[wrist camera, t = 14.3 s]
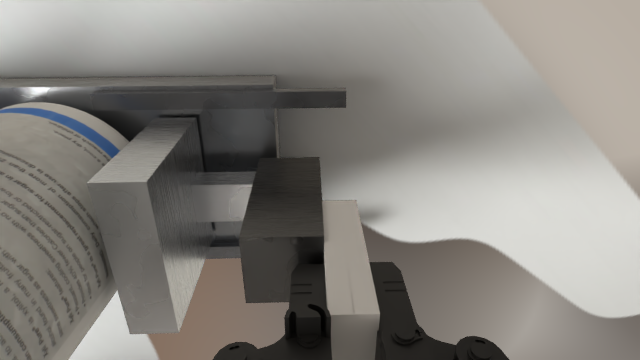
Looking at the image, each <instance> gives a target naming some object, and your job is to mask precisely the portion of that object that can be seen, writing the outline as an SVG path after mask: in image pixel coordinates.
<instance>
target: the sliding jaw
mask: <svg viewBox="0 0 640 360" xmlns="http://www.w3.org/2000/svg"><path fill="white" fill-rule="evenodd" d="M87 186H88V190H89V193H90V197H91V200H92V204H93V207H94V211H95V214H96V217H97V221H98V224H99V228H100V231H101V235H102V238H103V242H104V245H105V249H106V252H107V256H108V259H109V262H110V266H111V269H112V273H113V276H114V280H115V283H116V287H117V290H118V294H119V297H120V301H121V304H122V307H123V311H124V314H125V318H126V321H127V325H128V328H129V332H130V334H151V333H152V334H153V333H179V331H180V329H181V326H182V323H183V320H184V317H185V315H186V312H187V309H188V306H189V303H190V301H191V298H192V295H193V292H194V289H195V287H196V284H197V281H198V278H199V275H200V273H201V270H202V267H203V265H204V262H205V259H206V256H207V253H208V251H209V248H210V245H211V242H212V239H213V230H212V223H211V222H218V221H243V223H242V227H241V231H240V235H239V245H240V254H241V263H242V272H243V281H244V289H245V298H246V303H268V302H289V301H290V286H291V273H292V272H293V270H294V269H295V267H296V266H297V264H324V225H323V209H322V193H321V177H320V161H319V157H304V158H259V162H258V166H257V170H256V171H255V172H204V167H203V160H202V153H201V146H200V139H199V133H198V126H197V119H196V118H155V119H154V120H153V121H152V122H150V123H149V124H148V125H147V126H146V127H145V128H144V129H143V130H142V131H141V132H140V133H139V134H138V135H137V136H136V137H135V138H134V139H132V140H131V141H130V142H129V143H128V144H127V145H126V146H125V147H124V148H123V149H122V150H121V151H120V152H119V153H118V154H117V155H116V156H114V157H113V158H112V159H111V160H110V161H109V162H108V163H107V164H106V165H105V166H104V167H103V168H102V169H101V170H100V171H99V172H98V173H96V174H95V175H94V176H93V177H92V178H91V179H90V180H89V181H88V182H87Z"/></svg>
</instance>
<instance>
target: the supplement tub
mask: <svg viewBox="0 0 640 360" xmlns="http://www.w3.org/2000/svg"><path fill="white" fill-rule="evenodd" d="M128 143H129V141H128V140H127V139H126V138H125V137H123V136H122V135H121V134H120V133H119V132H118V131H117V130H115V129H114V128H112V127H111V126H109V125H108V124H106V123H105V122H104V121H102V120H100V119H98V118H96V117H94V116H92V115H90V114H88V113H86V112H84V111H81V110H78V109H75V108H72V107H69V106H65V105H61V104H55V103H45V102H29V103H21V104H16V105H12V106H8V107H5V108H3V109H0V360H68V359H69V358H70V356H71V355H72V353H73V352H74V351H75V349H76V348H77V346H78V345H79V344H80V342H81V341H82V339H83V338H84V336H85V335H86V334H87V332H88V331H89V329H90V328H91V327H92V325H93V324H94V322H95V321H96V320H97V318H98V317H99V315H100V314H101V312H102V311H103V310H104V308H105V307H106V305H107V304H108V303H109V301H110V300H111V298H112V297H113V295H114V294H115V293H116V291H117V287H116V283H115V280H114V276H113V273H112V269H111V266H110V262H109V259H108V256H107V252H106V249H105V245H104V242H103V238H102V235H101V231H100V228H99V224H98V221H97V217H96V214H95V211H94V207H93V204H92V200H91V197H90V193H89V190H88V186H87V182H88V181H89V180H90V179H91V178H92V177H93V176H94V175H95V174H96V173H98V172H99V171H100V170H101V169H102V168H103V167H104V166H105V165H106V164H107V163H108V162H109V161H110V160H111V159H112V158H113V157H114V156H116V155H117V154H118V153H119V152H120V151H121V150H122V149H123V148H124V147H125V146H126V145H127V144H128Z"/></svg>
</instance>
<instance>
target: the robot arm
mask: <svg viewBox="0 0 640 360" xmlns="http://www.w3.org/2000/svg"><path fill="white" fill-rule="evenodd" d="M322 209H323V225H324V264H297V266H296V267H295V269H294V270H293V272H292V273H291V286H290V301H289V309H288V310H287V312H286V315H285V335H284V336H283V337H282V338H281V339H280V340H279V341H277V342H276V343H275V344H272V345H270V346H267V347H264V348H260V349H257V348H256V347H255V346H254V345H252V344H249V343H247V342H235V343H232V344H229V345H227V346H225V347H224V348H222V349H221V350H219V352H218V353H217V354H216V355H215V357H214V359H213V360H509V359H508V358H507V357H506V355H505V354H504V353H503V352H502V350H501V349H500V348H499V347H497V346H496V345H495V344H494V343H493V342H490V341H489V340H487V339H485V338H481V337H477V336H469V337H465V338H463V339H461V340H460V341H459V342H458V343H457V345H453V344H449V343H445V342H441V341H438V340H435V339H433V338H431V337H429V336H428V335H426V333H425V332H424V330H423V329H422V328H421V327H419V325H418V324H417V322H416V319H415V315H414V312H413V309H412V306H411V303H410V299H409V296H408V293H407V291H406V286H405V283H404V280H403V277H402V274H401V271H400V270H399V269H398V268H397V267H396V266H395V265H394V263H393V262H369V259H368V254H367V249H366V245H365V240H364V235H363V230H362V226H361V221H360V216H359V211H358V207H357V202H356V200H338V201H322Z"/></svg>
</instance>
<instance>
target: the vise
mask: <svg viewBox="0 0 640 360" xmlns="http://www.w3.org/2000/svg"><path fill="white" fill-rule="evenodd" d="M29 102H45V103H55V104H61V105H65V106H69V107H72V108H75V109H78V110H81V111H84V112H86V113H88V114H90V115H92V116H94V117H96V118H98V119H100V120H102V121H104V122H105V123H106V124H108V125H109V126H111V127H112V128H114V129H115V130H117V131H118V132H119V133H120V134H121V135H122V136H123V137H125V138H126V139H127V140H128V141H129V142H130V141H131V140H132V139H134V138H135V137H136V136H137V135H138V134H139V133H140V132H141V131H142V130H143V129H144V128H145V127H146V126H147V125H148V124H149V123H150V122H152V121H153V120H154V119H155V118H196V119H197V126H198V133H199V139H200V146H201V153H202V160H203V167H204V172H255V171H256V170H257V166H258V162H259V158H280V148H279V129H278V110H277V108H346V89H345V88H294V89H276V75H274V76H182V77H90V78H0V109H3V108H5V107H8V106H12V105H16V104H21V103H29ZM211 223H212V230H213V239H212V242H211V245H210V248H209V251H208V253H207V256H206V259H216V258H241V254H240V245H239V235H240V231H241V227H242V223H243V221H218V222H211Z"/></svg>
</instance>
